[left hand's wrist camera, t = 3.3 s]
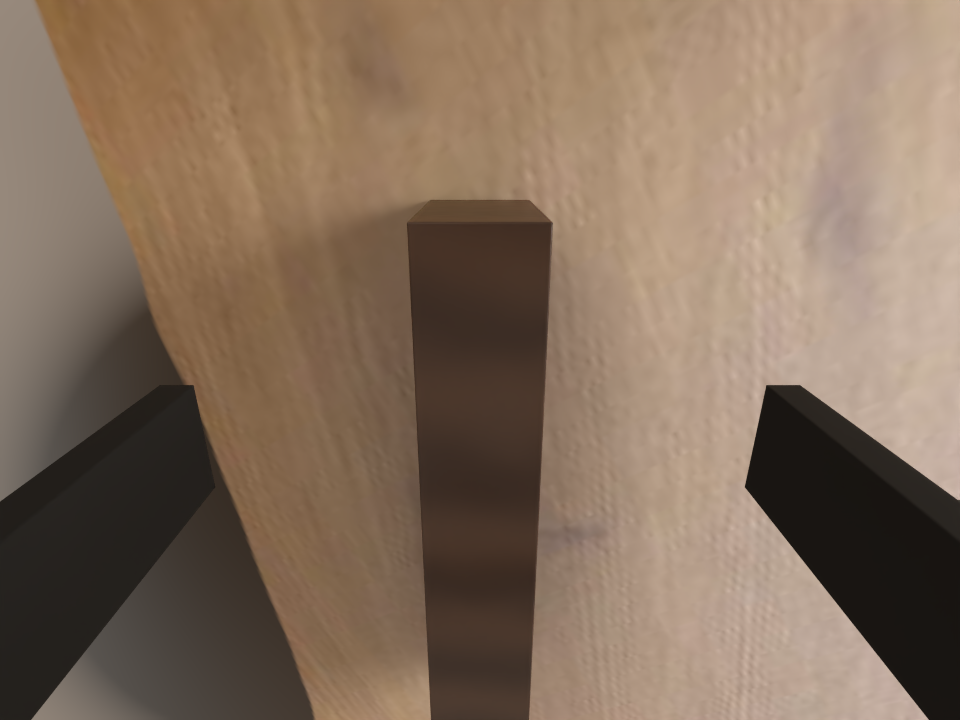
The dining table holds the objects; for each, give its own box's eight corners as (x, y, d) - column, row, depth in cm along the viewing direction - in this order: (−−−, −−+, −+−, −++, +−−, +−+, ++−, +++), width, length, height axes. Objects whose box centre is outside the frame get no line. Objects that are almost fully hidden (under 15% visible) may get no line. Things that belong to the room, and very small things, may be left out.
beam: (429, 200, 27) (406, 221, 18) (530, 200, 27) (553, 222, 18) (444, 644, 38) (434, 786, 29) (515, 644, 38) (525, 786, 29)
